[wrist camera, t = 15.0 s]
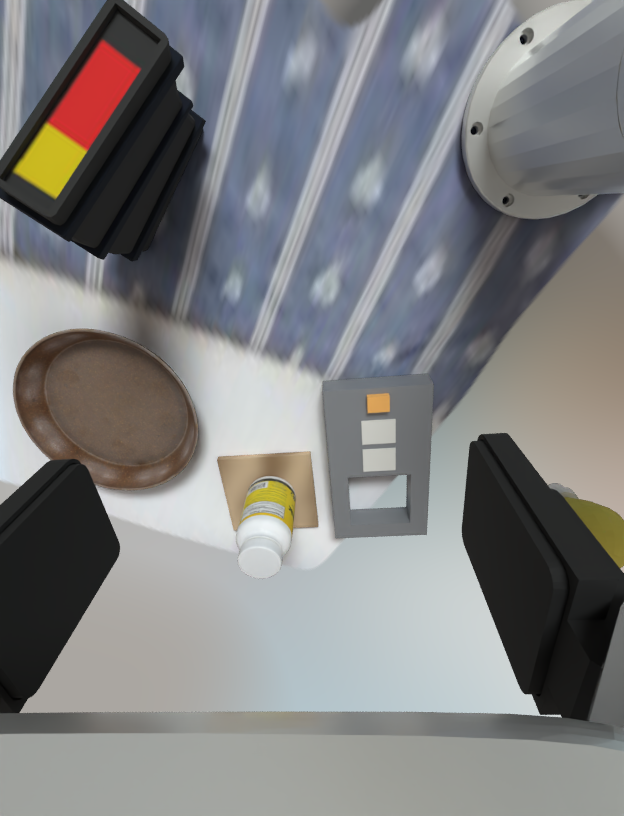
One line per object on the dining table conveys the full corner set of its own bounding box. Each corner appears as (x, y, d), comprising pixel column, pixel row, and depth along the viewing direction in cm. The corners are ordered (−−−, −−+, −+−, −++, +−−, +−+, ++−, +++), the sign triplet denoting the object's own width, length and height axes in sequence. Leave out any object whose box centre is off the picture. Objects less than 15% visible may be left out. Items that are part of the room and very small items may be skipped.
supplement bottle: (288, 517, 46) (279, 590, 37) (243, 505, 46) (222, 576, 37) (302, 481, 44) (296, 550, 35) (254, 468, 43) (236, 534, 35)
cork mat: (310, 451, 43) (310, 454, 42) (318, 523, 47) (318, 526, 47) (218, 456, 43) (217, 459, 43) (234, 526, 48) (233, 530, 47)
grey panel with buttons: (427, 373, 38) (435, 386, 35) (422, 518, 46) (427, 538, 44) (323, 381, 39) (322, 394, 36) (335, 522, 47) (335, 542, 44)
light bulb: (598, 490, 44) (667, 563, 35) (544, 524, 46) (596, 601, 37) (561, 455, 42) (624, 523, 33) (508, 493, 44) (553, 566, 35)
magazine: (86, 263, 33) (-24, 180, 19) (171, 131, 34) (130, -50, 19) (128, 289, 34) (54, 230, 20) (211, 161, 35) (200, 9, 20)
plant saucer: (182, 495, 46) (173, 513, 44) (26, 442, 44) (6, 457, 41) (227, 363, 39) (219, 375, 36) (41, 289, 36) (18, 296, 34)
